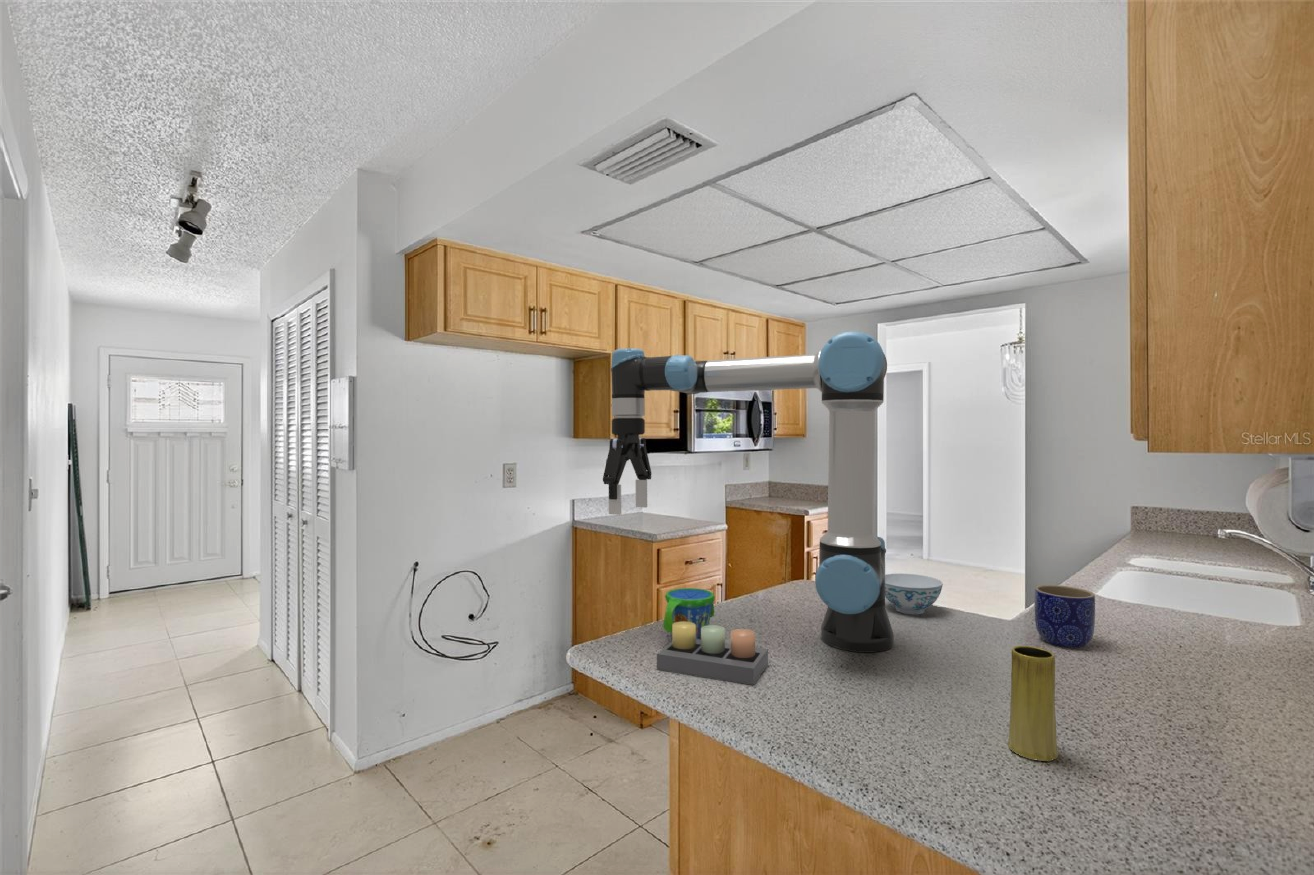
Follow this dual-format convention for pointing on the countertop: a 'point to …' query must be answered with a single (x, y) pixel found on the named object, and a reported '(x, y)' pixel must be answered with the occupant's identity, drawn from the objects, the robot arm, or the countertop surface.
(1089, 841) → the countertop surface
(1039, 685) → the vase
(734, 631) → the button terracotta
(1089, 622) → the planter
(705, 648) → the button sage
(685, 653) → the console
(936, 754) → the countertop surface
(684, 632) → the button mustard
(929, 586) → the chinaware
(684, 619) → the snack cup
